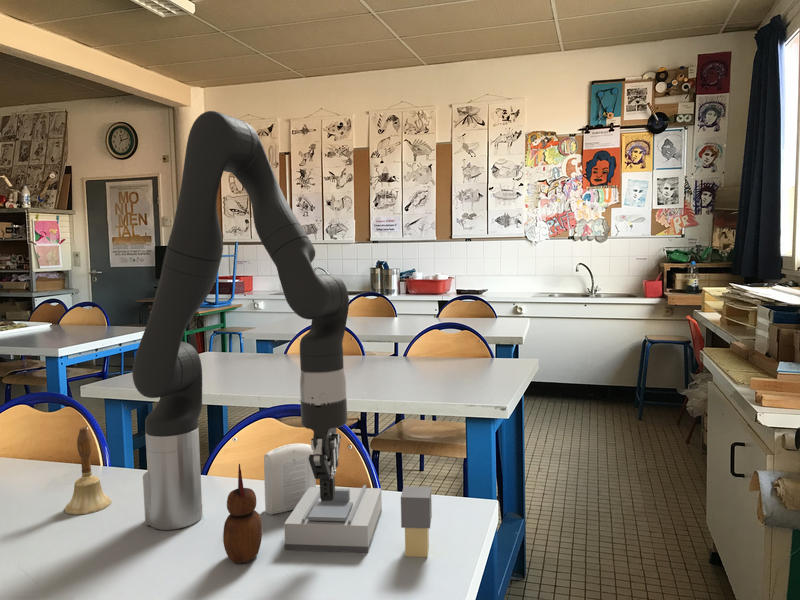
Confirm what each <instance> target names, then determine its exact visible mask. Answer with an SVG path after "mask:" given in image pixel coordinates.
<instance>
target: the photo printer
mask: <svg viewBox="0 0 800 600" xmlns="http://www.w3.org/2000/svg"><path fill="white" fill-rule="evenodd" d="M309 455H313V450H312V449H311V444H307V443H301V442H300V443H289V444H285V445H281V446H279V447H276V448H273V449H272V450H270V451H268V452H266V453H265V454H264V457H263V464H264V465H263V472H264V474H263V475H264V476H263V477H264V505H265V506H264V507H265V509H264V510H265V512H266V514H268V515H275V514H276V515H277V514H281V513H285V512H289V511H293V510H294V509H295V507H296V506H297V504H298V503H299V501H300V500H301V498H302V497H303V495H304V494H305V492H306V491H307V489H308V488H309V487H317V482H316V480H317V479H315V477H314V474H313V471H312V468H311V465H310V462H309Z"/></svg>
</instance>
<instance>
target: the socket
mask: <svg viewBox="0 0 800 600" xmlns="http://www.w3.org/2000/svg"><path fill="white" fill-rule="evenodd" d="M335 488H337V489H350V501H349V502H353V506H352V508H351V511H350V513H349V515H348V517H347V519H346V521H315V520H308V516H309V514H310V512H311V511H312V509H313V507H314V506H315V504H316V502H317V501H321V499H320V486H316V487H309V488H308V489H307V491H306V492H305V494H304V495H303V497H302V498H301V500H300V501H299V503H298V504H297V506H296V507H295V509H293V510H292V512H291V513H290V515H289V516H288V517H287V519H286V520H285V522H284V523H283V525H284V548H285V549H284V550H285V551H309V552H310V551H312V552H314V551H315V552H319V551H320V552H343V553H367V554H368V553H369V551H370V548H371V545H372V542H373V539H374V536H375V534H376V530H377V527H378V524H379V521H380V518H381V515H382V512H383V510H382V507H383V505H382V504H383V502H382V488H380V487H379V488H377V487H376V488H375V487H367V484H363V485H362V487H336V486H335Z"/></svg>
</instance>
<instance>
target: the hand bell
mask: <svg viewBox="0 0 800 600" xmlns="http://www.w3.org/2000/svg"><path fill="white" fill-rule="evenodd" d="M76 446H77V451H78V455H79V456H80V461H81V477H79V478H77V479H76V480H75V482H74V486H73V493H72V497H71V499H70V501H69V502H68V503H67V504H66V505H65V508H64V512H65V513H66V514H68V515H72V514H73V516H74V515H75V516H77V515H78V516H79V515H82V514H83V515H88V514H89V513H90V514H93V513H97V512H99V511H102V510H104V509H107V507H110V505H111V504H112V499H111V498H110V497H109V496H107V495H106V494H105V492H104V491H103V488H102V485H101V479H100V478H99V476H95V475H93V473H92V466H91V455H92V450H93V441H92V437H91V434H90V432H89V430H88V427H86V426H85V427H80V428H79V431H78V435H77V440H76Z"/></svg>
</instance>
